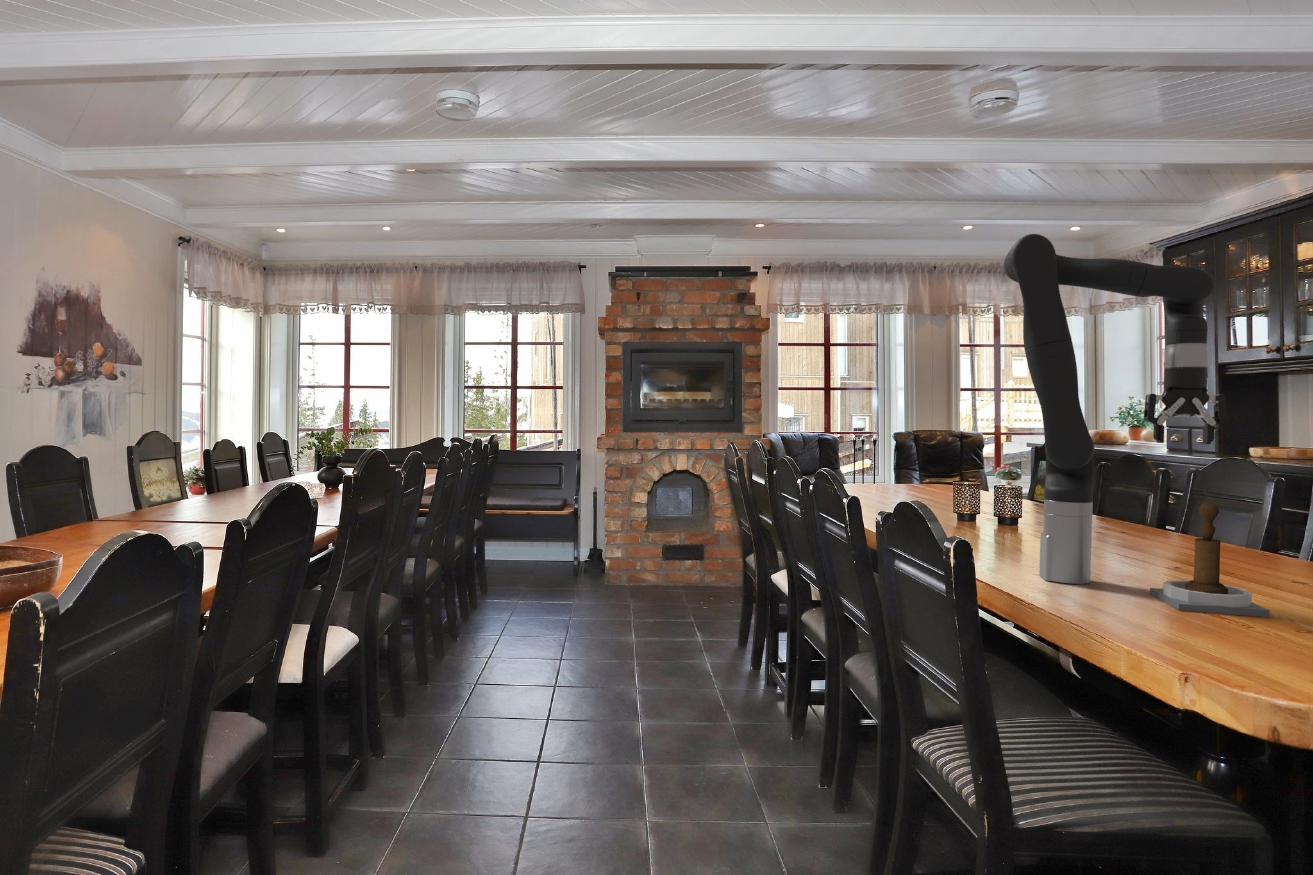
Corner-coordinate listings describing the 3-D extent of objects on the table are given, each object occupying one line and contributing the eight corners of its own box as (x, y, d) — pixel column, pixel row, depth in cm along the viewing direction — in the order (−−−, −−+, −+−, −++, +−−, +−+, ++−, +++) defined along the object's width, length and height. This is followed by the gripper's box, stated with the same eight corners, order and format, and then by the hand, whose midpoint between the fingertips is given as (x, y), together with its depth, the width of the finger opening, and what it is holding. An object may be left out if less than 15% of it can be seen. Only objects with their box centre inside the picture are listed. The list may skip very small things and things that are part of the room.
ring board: (1178, 610, 135) (1179, 592, 135) (1149, 593, 149) (1150, 577, 149) (1269, 616, 132) (1270, 599, 132) (1231, 599, 145) (1231, 583, 145)
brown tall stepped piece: (1187, 599, 139) (1190, 503, 139) (1181, 592, 145) (1184, 500, 144) (1231, 604, 136) (1234, 505, 135) (1224, 597, 141) (1227, 502, 141)
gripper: (1153, 365, 154) (1151, 443, 155) (1233, 364, 151) (1231, 444, 151) (1140, 367, 162) (1138, 442, 162) (1216, 367, 158) (1214, 444, 158)
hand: (1183, 443), depth 156 cm, fingers open, 8 cm apart
